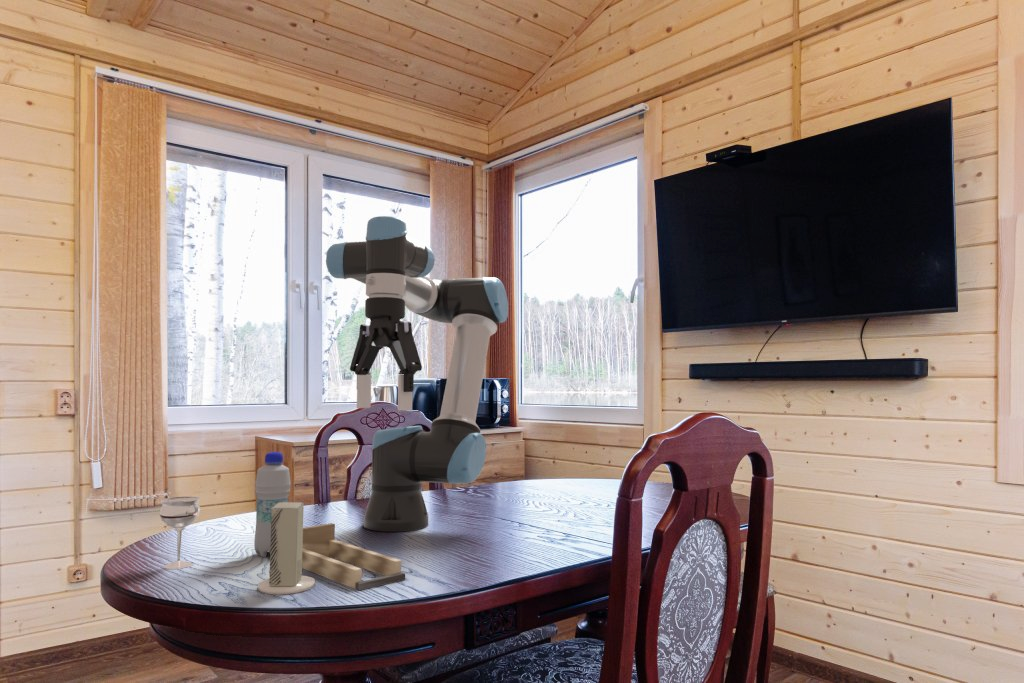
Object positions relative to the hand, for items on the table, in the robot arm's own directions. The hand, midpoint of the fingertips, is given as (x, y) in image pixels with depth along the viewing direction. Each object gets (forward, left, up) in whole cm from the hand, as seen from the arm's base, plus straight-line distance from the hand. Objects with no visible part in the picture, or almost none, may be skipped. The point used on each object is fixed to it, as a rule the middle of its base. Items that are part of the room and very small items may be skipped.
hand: (383, 409), depth 133 cm
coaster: (+2, -20, -29) cm, 35 cm away
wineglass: (-24, -28, -29) cm, 47 cm away
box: (+2, -20, -28) cm, 35 cm away
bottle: (-20, -12, -29) cm, 37 cm away
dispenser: (0, -8, -29) cm, 30 cm away
